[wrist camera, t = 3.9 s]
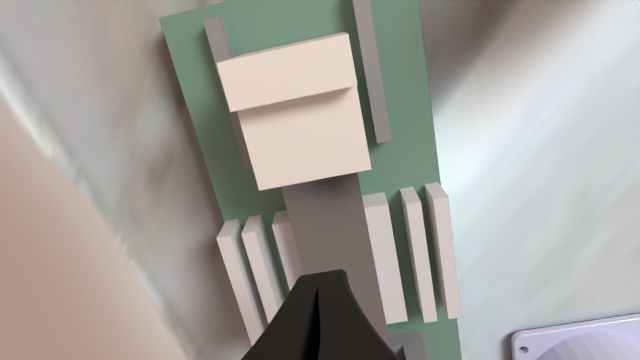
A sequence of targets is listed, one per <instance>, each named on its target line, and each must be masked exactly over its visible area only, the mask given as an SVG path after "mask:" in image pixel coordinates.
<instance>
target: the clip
mask: <svg viewBox="0 0 640 360" xmlns="http://www.w3.org/2000/svg"><path fill="white" fill-rule="evenodd" d="M216 64H217V67H218V71H219V74H220V78H221V81H222V85H223V88H224V92H225V95H226V99H227V102H228V106H229V109H230V112H233V111H237V113H238V117H239V120H240V124H241V128H242V131H243V135H244V138H245V142H246V145H247V149H248V153H249V156H250V160H251V163H252V167H253V171H254V174H255V178H256V181H257V185H258V188H259V191H260V190H265V189H271V188H276V187H281V186H287V185H292V184H297V183H302V182H308V181H313V180H318V179H323V178H329V177H334V176H339V175H344V174H350V173H355V172H360V171H365V170H371V163H370V157H369V152H368V146H367V141H366V135H365V129H364V124H363V118H362V113H361V107H360V101H359V96H358V90H357V79H356V74H355V68H354V62H353V57H352V51H351V45H350V40H349V34H348V33H345V32H341V33H336V34H332V35H328V36H323V37H319V38H314V39H310V40H305V41H301V42H296V43H292V44H287V45H283V46H278V47H274V48H269V49H265V50H260V51H256V52H251V53H247V54H243V55H240V56H237V57H234V58H231V59H227V60H224V61H221V62H218V63H216Z"/></svg>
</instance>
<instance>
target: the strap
mask: <svg viewBox="0 0 640 360" xmlns="http://www.w3.org/2000/svg"><path fill="white" fill-rule="evenodd" d="M281 189H282V193H283V196H284V200H285V204H286V208H287V212H288V216H289V220H290V224H291V228H292V231H293V235H294V239H295V243H296V247H297V251H298V255H299V259H300V263H301V267H302V270H303V274H304V275H307V274H314V273H320V272H326V271H332V270H338V269H343V270H344V271H346V272H347V277H348V282H349V286H350V288H351V291H352V293H353V295H354V297H355V299H356V301H357V302H358V304H359V306H360V308H361V309H362V311H363V313H364V314H365V316H366V317H367V319H368V320H369V322H370V323H371V325H372V326H373V327H374V329H375V330H376V332H377V333H378V334H379V335H380V337H381V338H382V339H383V340H384V342H385V343H386V344H387V345H388V346H389V347H390V349H391V346H390V340H389V335H388V330H387V325H386V319H385V314H384V309H383V304H382V298H381V293H380V288H379V283H378V277H377V272H376V267H375V262H374V256H373V251H372V246H371V241H370V236H369V230H368V225H367V220H366V215H365V209H364V204H363V199H362V194H361V188H360V183H359V178H358V173H357V172H355V173H350V174H344V175H339V176H334V177H329V178H323V179H318V180H313V181H308V182H302V183H297V184H292V185H287V186H281Z"/></svg>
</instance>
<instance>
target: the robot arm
mask: <svg viewBox="0 0 640 360" xmlns="http://www.w3.org/2000/svg"><path fill="white" fill-rule="evenodd" d="M511 346H512V360H640V313H639V314H632V315H626V316H619V317H612V318H605V319H599V320H592V321H585V322H578V323H572V324H565V325H558V326H551V327H545V328H538V329H531V330H525V331H519V332H516V333H515V334H513V336H512V337H511ZM523 346H524V348H522V349H520V348H521V347H523ZM241 360H401V359H400V358H399V357H398V356H397V355H396V354H395V353H394V352H393V351H392V350H391V349H390V347H389V346H388V345H387V344H386V343H385V342H384V340H383V339H382V338H381V337H380V335H379V334H378V333H377V332H376V330H375V329H374V327H373V326H372V325H371V323H370V322H369V320H368V319H367V317H366V316H365V314H364V313H363V311H362V309H361V308H360V306H359V304H358V302H357V301H356V299H355V297H354V295H353V293H352V291H351V288H350V286H349V282H348V277H347V272H346V271H344V270H343V269H338V270H332V271H326V272H320V273H314V274H307V275H301V276H300V277H299V278H298V279H297V281H296V282H295V284H294V286H293V287H292V289H291V291H290V292H289V294H288V296H287V297H286V299H285V301H284V302H283V304H282V305H281V307H280V308H279V310H278V311H277V313H276V314H275V316H274V317H273V319H272V320H271V322H270V323H269V325H268V326H267V328H266V329H265V330H264V332H263V333H262V334H261V336H260V337H259V338H258V340H257V341H256V342H255V344H254V345H253V346H252V347H251V349H250V350H249V351H248V352H247V353H246V355H245V356H244V357H243V358H242V359H241Z"/></svg>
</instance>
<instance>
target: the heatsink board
mask: <svg viewBox="0 0 640 360" xmlns="http://www.w3.org/2000/svg"><path fill="white" fill-rule="evenodd" d="M159 20H160V23H161V27H162V30H163V33H164V36H165V39H166V42H167V45H168V49H169V52H170V55H171V58H172V61H173V64H174V67H175V70H176V74H177V77H178V80H179V83H180V86H181V89H182V92H183V96H184V99H185V102H186V105H187V108H188V111H189V114H190V117H191V121H192V124H193V127H194V130H195V133H196V136H197V139H198V143H199V146H200V149H201V152H202V155H203V158H204V161H205V164H206V168H207V171H208V174H209V177H210V180H211V183H212V186H213V190H214V193H215V196H216V199H217V202H218V205H219V208H220V211H221V215H222V218H223V221H224V225H223V227H222V229H221V231H220V233H219V235H218V236H217V238H216V239H217V242H218V245H219V248H220V251H221V254H222V257H223V260H224V263H225V266H226V269H227V272H228V275H229V278H230V281H231V284H232V287H233V290H234V293H235V296H236V299H237V302H238V306H239V309H240V312H241V315H242V318H243V321H244V324H245V327H246V330H247V333H248V336H249V339H250V342H251V345H252V346H253V345H254V344H255V342H256V341H257V340H258V338H259V337H260V336H261V334H262V333H263V332H264V330H265V329H266V328H267V326H268V325H269V323H270V322H271V320H272V319H273V317H274V316H275V314H276V313H277V311H278V310H279V308H280V307H281V305H282V304H283V302H284V301H285V299H286V297H287V296H288V294H289V292H290V291H291V289H292V287H293V286H294V284H295V282H296V281H297V279H298V278H299V277H300V276H301V275H304V274H303V270H302V267H301V263H300V259H299V255H298V251H297V247H296V243H295V239H294V235H293V231H292V228H291V224H290V220H289V216H288V212H287V208H286V204H285V200H284V196H283V193H282V189H281V187H276V188H271V189H265V190H260V191H259V188H258V185H257V181H256V178H255V174H254V171H253V167H252V163H251V160H250V156H249V153H248V149H247V145H246V142H245V138H244V135H243V131H242V128H241V124H240V120H239V117H238V113H237V111H233V112H230V109H229V106H228V102H227V99H226V95H225V92H224V88H223V85H222V81H221V78H220V74H219V71H218V67H217V64H216V63H218V62H221V61H224V60H227V59H231V58H234V57H237V56H240V55H243V54H247V53H251V52H256V51H260V50H265V49H269V48H274V47H278V46H283V45H287V44H292V43H296V42H301V41H305V40H310V39H314V38H319V37H323V36H328V35H332V34H336V33H341V32H345V33H348V34H349V40H350V45H351V51H352V57H353V62H354V68H355V74H356V79H357V90H358V96H359V101H360V107H361V113H362V118H363V124H364V129H365V135H366V141H367V146H368V152H369V157H370V163H371V170H365V171H360V172H357V173H358V178H359V183H360V188H361V194H362V199H363V204H364V209H365V215H366V220H367V225H368V230H369V236H370V241H371V246H372V251H373V256H374V262H375V267H376V272H377V277H378V283H379V288H380V293H381V298H382V304H383V309H384V314H385V319H386V325H387V330H388V335H389V340H390V346H391V350H392V351H393V352H394V353H395V354H396V355H397V356H398V357H399V358H400V359H401V360H462V358H461V349H460V341H459V333H458V325H457V318H460V317H462V313H461V304H460V295H459V286H458V278H457V269H456V260H455V252H454V243H453V234H452V226H451V217H450V208H449V199H448V196H447V194H446V193H445V191H444V190H443V188H442V187H441V183H440V175H439V167H438V158H437V150H436V142H435V133H434V125H433V117H432V108H431V100H430V92H429V83H428V75H427V67H426V59H425V50H424V42H423V34H422V25H421V17H420V9H419V0H233V1H229V2H224V3H220V4H216V5H212V6H207V7H203V8H199V9H195V10H190V11H186V12H182V13H178V14H173V15H169V16H165V17H161V18H159Z"/></svg>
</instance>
